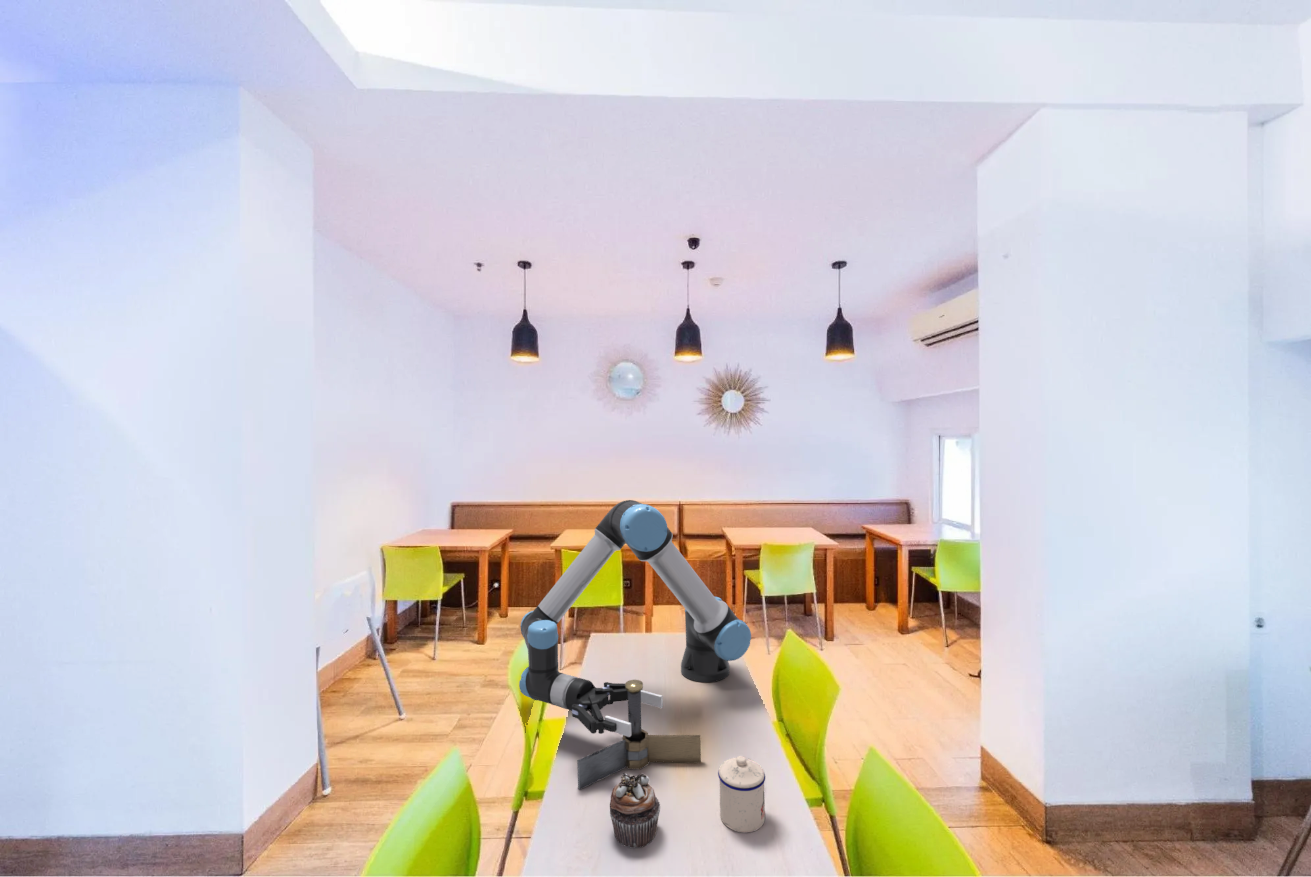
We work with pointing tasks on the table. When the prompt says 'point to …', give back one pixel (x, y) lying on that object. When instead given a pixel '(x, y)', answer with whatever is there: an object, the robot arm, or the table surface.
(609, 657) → the table surface
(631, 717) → the hinge pin
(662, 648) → the table surface
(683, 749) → the tan flat knuckled part
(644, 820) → the cupcake
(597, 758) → the hinge leaf
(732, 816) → the teacup with lid
